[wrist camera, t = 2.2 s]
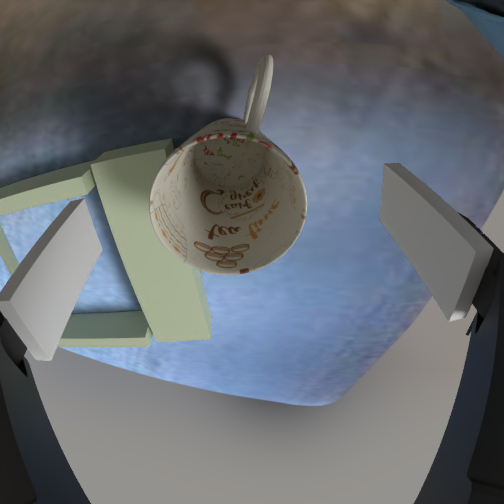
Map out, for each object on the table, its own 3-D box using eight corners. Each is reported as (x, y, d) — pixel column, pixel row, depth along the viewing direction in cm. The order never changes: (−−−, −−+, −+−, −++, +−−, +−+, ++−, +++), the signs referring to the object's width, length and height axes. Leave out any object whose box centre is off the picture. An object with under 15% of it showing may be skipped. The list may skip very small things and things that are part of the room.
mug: (170, 191, 26) (143, 262, 18) (200, 42, 19) (177, 32, 11) (265, 209, 28) (280, 285, 19) (309, 68, 21) (357, 78, 13)
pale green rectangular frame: (-20, 190, 24) (-41, 208, 20) (172, 138, 23) (161, 153, 20) (49, 325, 35) (39, 348, 32) (212, 318, 35) (210, 346, 32)
